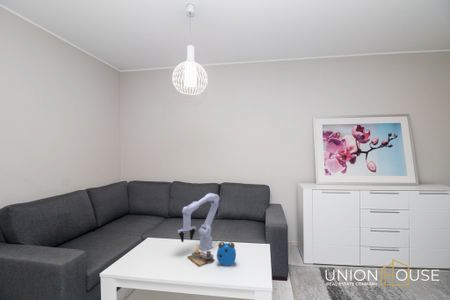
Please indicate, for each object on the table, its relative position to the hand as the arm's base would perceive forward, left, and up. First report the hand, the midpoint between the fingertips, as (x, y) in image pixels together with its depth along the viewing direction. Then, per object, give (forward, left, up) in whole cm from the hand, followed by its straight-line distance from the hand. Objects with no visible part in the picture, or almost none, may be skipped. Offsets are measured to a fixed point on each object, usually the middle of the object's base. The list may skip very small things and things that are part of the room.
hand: (186, 240), depth 170 cm
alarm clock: (-14, +31, -10) cm, 35 cm away
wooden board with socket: (-4, +15, -10) cm, 18 cm away
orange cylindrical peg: (-2, +12, -9) cm, 15 cm away
